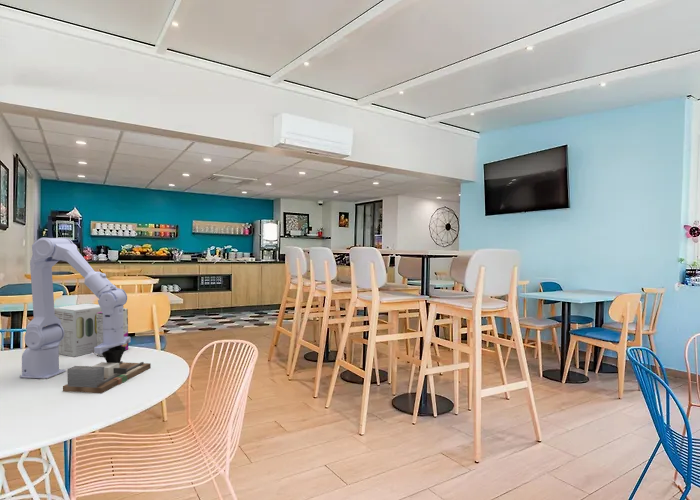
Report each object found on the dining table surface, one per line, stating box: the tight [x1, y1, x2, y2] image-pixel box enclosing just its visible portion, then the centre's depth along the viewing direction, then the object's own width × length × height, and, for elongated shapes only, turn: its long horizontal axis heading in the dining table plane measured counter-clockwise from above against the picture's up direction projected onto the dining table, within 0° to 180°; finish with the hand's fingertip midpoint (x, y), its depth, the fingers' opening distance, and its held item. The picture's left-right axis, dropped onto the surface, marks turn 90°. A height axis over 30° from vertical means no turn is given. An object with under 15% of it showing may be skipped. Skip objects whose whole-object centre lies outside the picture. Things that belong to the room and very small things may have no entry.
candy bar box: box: [96, 307, 129, 358], centre depth 163 cm, size 11×5×16 cm, turn 168°
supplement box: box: [54, 302, 102, 358], centre depth 165 cm, size 13×13×18 cm
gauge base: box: [62, 360, 152, 394], centre depth 133 cm, size 12×24×2 cm, turn 174°
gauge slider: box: [91, 361, 127, 378], centre depth 129 cm, size 10×7×3 cm
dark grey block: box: [66, 365, 104, 388], centre depth 122 cm, size 9×3×5 cm, turn 84°
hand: (113, 370), depth 134 cm, fingers closed
